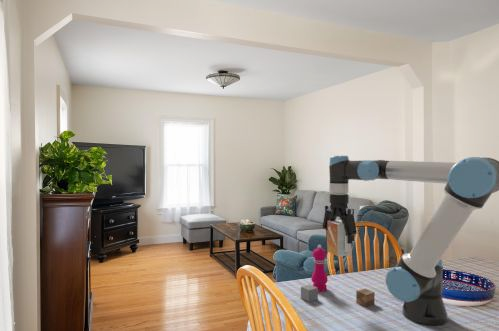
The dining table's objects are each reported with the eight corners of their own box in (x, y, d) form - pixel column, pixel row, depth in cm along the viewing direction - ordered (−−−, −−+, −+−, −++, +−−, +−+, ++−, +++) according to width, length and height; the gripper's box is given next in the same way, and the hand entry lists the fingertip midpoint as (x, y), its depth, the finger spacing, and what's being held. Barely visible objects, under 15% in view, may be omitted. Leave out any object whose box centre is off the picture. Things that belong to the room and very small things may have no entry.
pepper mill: (326, 286, 167) (326, 243, 167) (328, 292, 160) (328, 247, 159) (310, 285, 168) (310, 243, 167) (312, 291, 161) (312, 246, 160)
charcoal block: (317, 299, 152) (317, 287, 152) (308, 302, 149) (308, 290, 149) (309, 295, 156) (309, 284, 156) (300, 298, 153) (300, 286, 153)
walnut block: (374, 304, 147) (374, 292, 147) (366, 307, 144) (366, 294, 144) (364, 300, 151) (364, 288, 151) (356, 302, 148) (356, 290, 148)
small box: (326, 251, 150) (326, 220, 150) (340, 250, 152) (340, 219, 152) (337, 256, 142) (337, 224, 142) (351, 255, 144) (351, 223, 144)
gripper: (366, 195, 139) (366, 253, 140) (326, 191, 158) (326, 242, 158) (353, 196, 135) (353, 256, 136) (313, 192, 154) (313, 244, 154)
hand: (338, 248), depth 147 cm, fingers closed on small box, 9 cm apart
